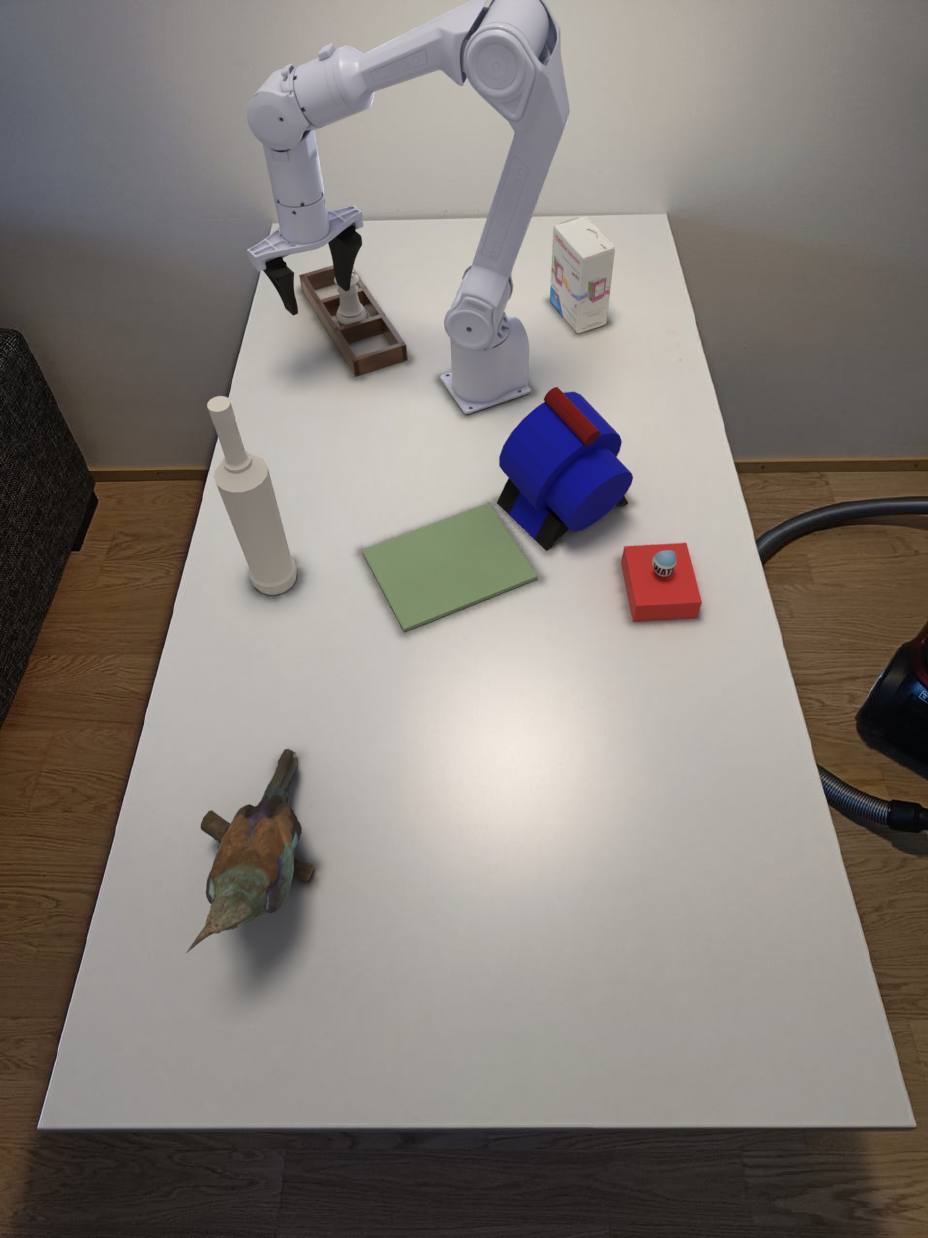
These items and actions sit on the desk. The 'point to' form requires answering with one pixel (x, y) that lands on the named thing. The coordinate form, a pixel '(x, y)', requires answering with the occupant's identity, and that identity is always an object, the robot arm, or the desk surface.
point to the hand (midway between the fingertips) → (317, 298)
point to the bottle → (251, 505)
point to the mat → (448, 566)
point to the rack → (354, 324)
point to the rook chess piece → (350, 304)
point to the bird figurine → (254, 856)
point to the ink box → (581, 273)
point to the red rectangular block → (660, 582)
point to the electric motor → (562, 468)
